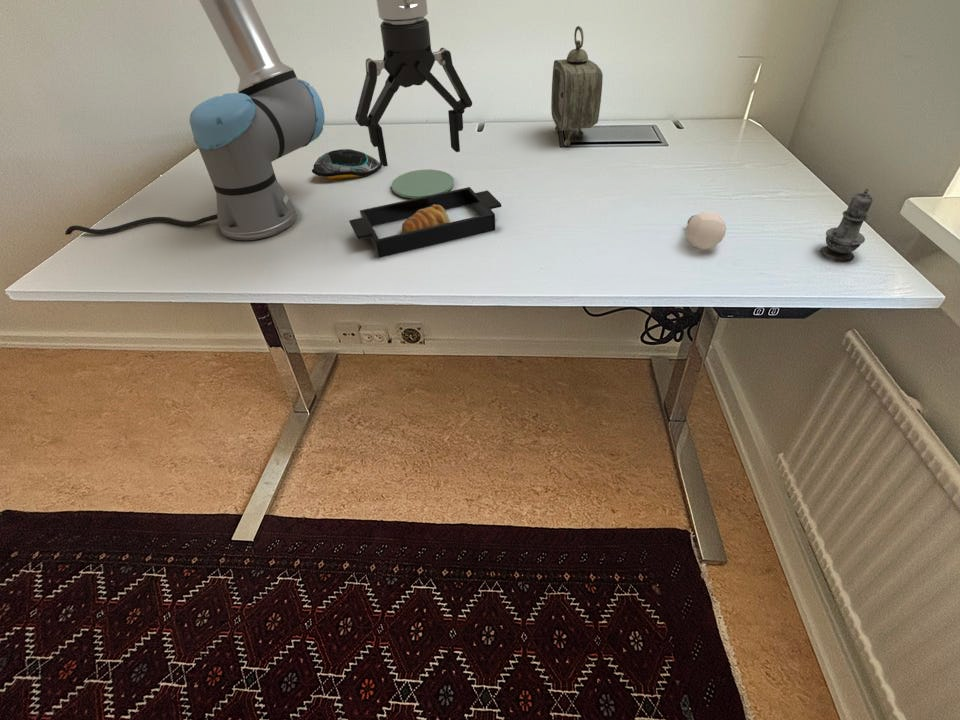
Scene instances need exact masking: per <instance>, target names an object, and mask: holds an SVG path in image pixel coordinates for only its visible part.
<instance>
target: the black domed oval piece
mask: <svg viewBox="0 0 960 720" xmlns="http://www.w3.org/2000/svg"><path fill="white" fill-rule="evenodd" d="M382 166H383V165H382V164H381V162H380V160H377V159H376V158H374V157H373V156H371V155H369V154H367V153H365V152H362V151H360V150H359V151H358V150H355V149H350V148H344V149H343V148H341V149H335V150H330V151H328V152H325V153H323V154H322V155H321V156H319V157H318V158H317V159H316V160H315V162H314V163H313V166H312V167H313V168H312V169H311V173H313V174H314V175H315V176H318V177H323V178H326V179H333V180H338V179H339V180H343V179H355V178H361V177H362V178H363V177H368V176H371V175H373V174H374V173H375V172H377V171H378V170H379V169H381V168H382Z"/></svg>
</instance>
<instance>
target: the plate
mask: <svg viewBox="0 0 960 720" xmlns="http://www.w3.org/2000/svg"><path fill="white" fill-rule="evenodd" d="M454 185H455V180H454V177H453V176H452V175H451V174H450V173H448V172H446V171H443V170H438V169H416V170H412V171H409V172H405V173H402V174H400V175H398V176H397V177H395V178H394V179H393V180H392V182H391V190H392V192H393V193H394V194H396V195H397V196H399V197H401V198H406V199H416V198H420V197H425V196H430V195H434V194H439V193H444V192H448V191H451V190H452V188H453V187H454Z"/></svg>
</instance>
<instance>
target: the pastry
mask: <svg viewBox="0 0 960 720" xmlns="http://www.w3.org/2000/svg"><path fill="white" fill-rule="evenodd" d="M450 222H451V220H450V217H449V215H448V214H447V211H446V210H445V209H444V208H443V207H442V206H440V205H435V204H433V206H431V207H428V208H424V209H420V210H418V211H417V212H416V213H415V214H414V215H412V216H411V217H409V218H406V220H404V222H403V223H402V226H401V232H402V233H406V232H411V231H415V230H420V229H424V228H428V227H433V226H437V225H441V224H446V223H450Z"/></svg>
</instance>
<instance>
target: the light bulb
mask: <svg viewBox="0 0 960 720" xmlns="http://www.w3.org/2000/svg"><path fill="white" fill-rule="evenodd" d="M726 226H727V225H726V222H725V221H724V219H723V218H722V217H721V215H720V214H718V213H716V212H713V211H702V212H699V213H697V214H694V215H691V216H690V217H689V218H688V220H687V224H686V231H685V233H686V237H687V241H688V242H689V244H690V245H691V246H692V247H694V248H697V249H699V250H710V249H713V248H715V247H717V246H718V245H719V244H720V243H721V242H722V241H723V239H724V238H725V236H726V231H727V227H726Z"/></svg>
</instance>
